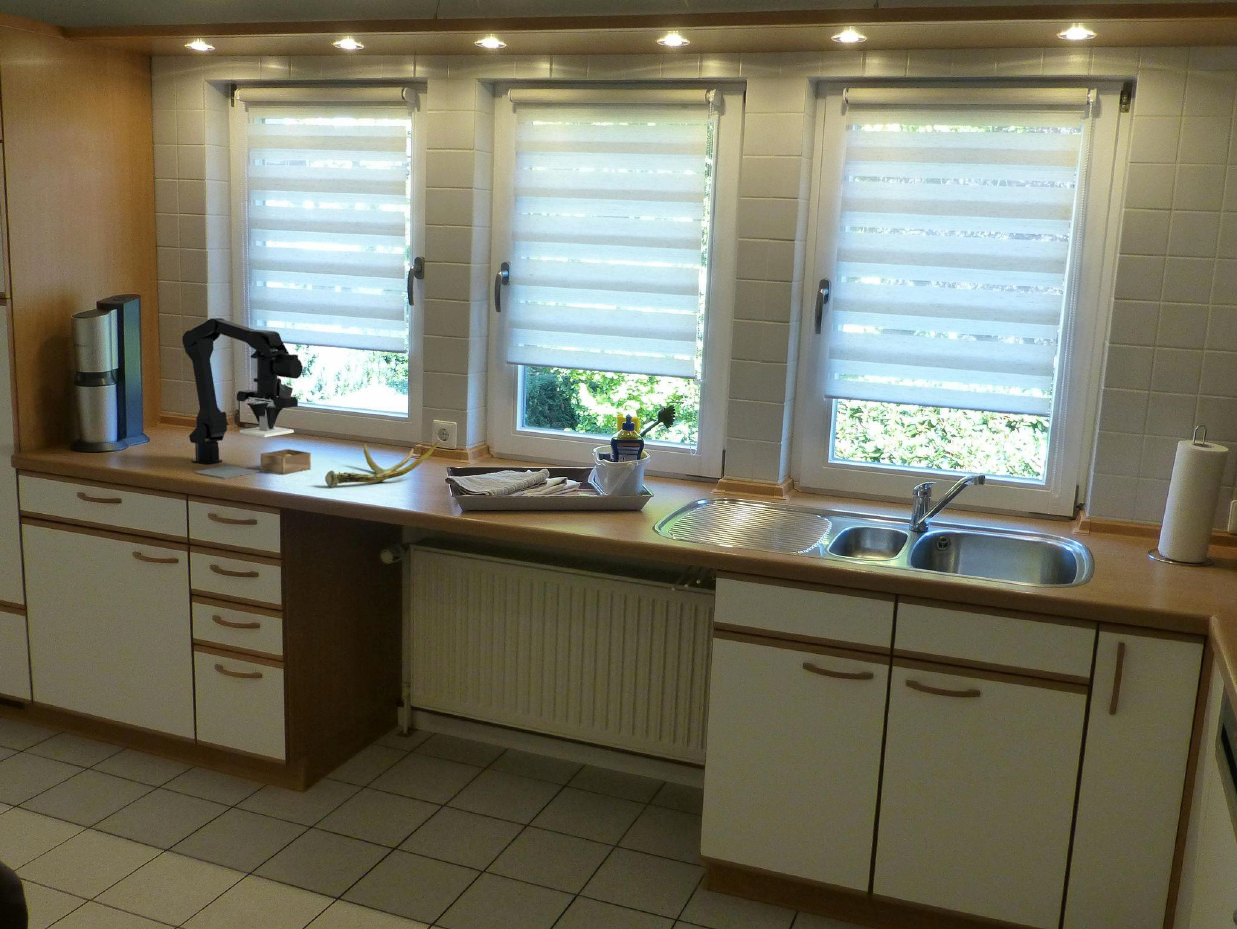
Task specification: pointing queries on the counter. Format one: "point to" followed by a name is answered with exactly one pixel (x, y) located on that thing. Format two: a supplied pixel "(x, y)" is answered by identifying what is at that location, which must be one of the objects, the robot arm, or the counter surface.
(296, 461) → the crate
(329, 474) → the antler
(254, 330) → the robot arm
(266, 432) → the lid
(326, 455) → the counter surface
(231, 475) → the mat
